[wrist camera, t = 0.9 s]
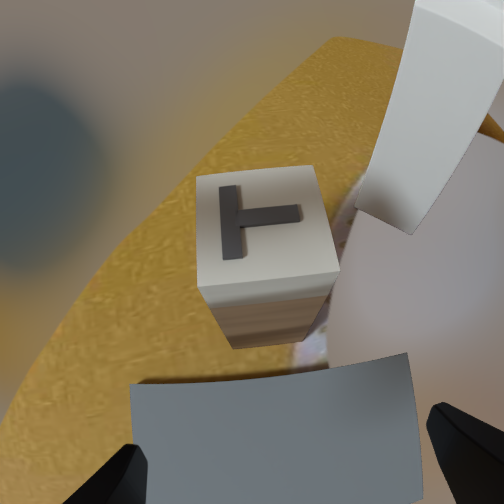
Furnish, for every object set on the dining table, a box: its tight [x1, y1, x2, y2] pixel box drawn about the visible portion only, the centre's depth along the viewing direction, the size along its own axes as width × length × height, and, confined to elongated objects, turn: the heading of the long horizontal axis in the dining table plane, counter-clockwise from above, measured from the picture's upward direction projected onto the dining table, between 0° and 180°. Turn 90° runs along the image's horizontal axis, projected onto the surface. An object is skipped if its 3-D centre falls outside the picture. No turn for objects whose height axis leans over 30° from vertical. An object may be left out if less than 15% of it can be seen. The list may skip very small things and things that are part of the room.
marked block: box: [196, 165, 340, 349], centre depth 17 cm, size 5×5×13 cm
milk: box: [354, 0, 504, 235], centre depth 18 cm, size 6×6×22 cm
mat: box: [130, 353, 423, 504], centre depth 18 cm, size 12×20×1 cm, turn 96°
